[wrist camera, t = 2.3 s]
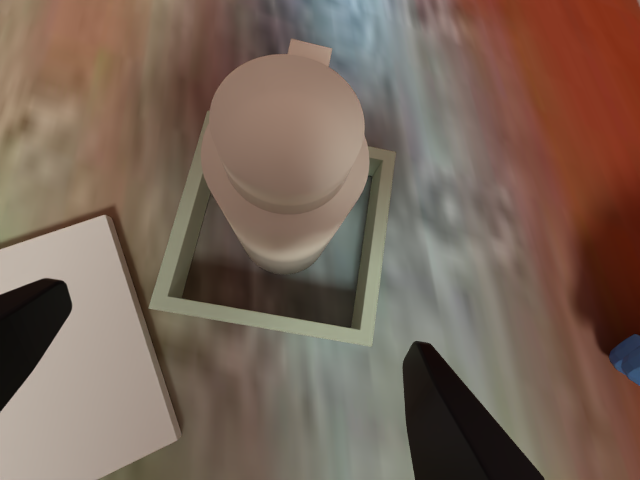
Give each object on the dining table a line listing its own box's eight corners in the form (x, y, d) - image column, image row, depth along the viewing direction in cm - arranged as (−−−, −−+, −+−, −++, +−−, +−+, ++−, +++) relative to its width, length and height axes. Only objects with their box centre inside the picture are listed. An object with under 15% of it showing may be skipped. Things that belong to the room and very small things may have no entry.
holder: (361, 342, 20) (371, 346, 18) (164, 308, 19) (148, 308, 17) (384, 168, 23) (395, 152, 21) (215, 132, 22) (207, 110, 20)
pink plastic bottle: (318, 281, 21) (375, 235, 8) (232, 265, 21) (155, 192, 8) (336, 178, 23) (404, 14, 10) (257, 161, 22) (227, -32, 10)
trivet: (181, 434, 18) (177, 440, 17) (-104, 573, 15) (-124, 587, 15) (111, 218, 20) (105, 214, 20) (-148, 305, 18) (-168, 305, 17)
